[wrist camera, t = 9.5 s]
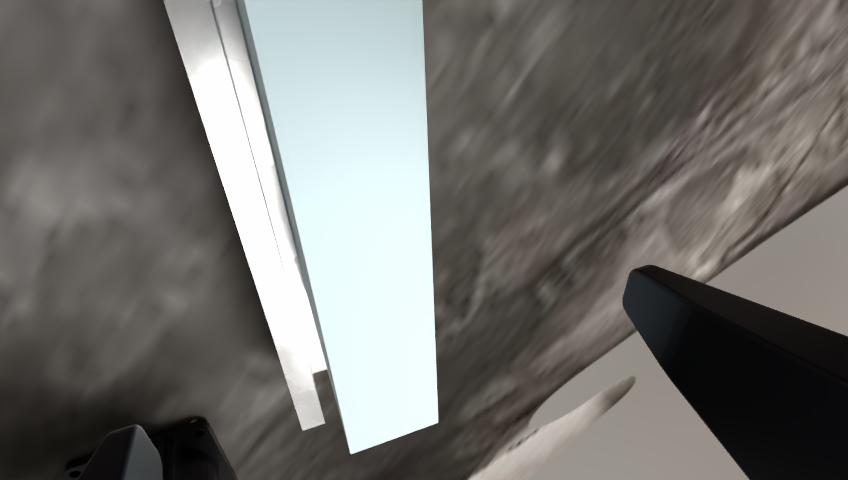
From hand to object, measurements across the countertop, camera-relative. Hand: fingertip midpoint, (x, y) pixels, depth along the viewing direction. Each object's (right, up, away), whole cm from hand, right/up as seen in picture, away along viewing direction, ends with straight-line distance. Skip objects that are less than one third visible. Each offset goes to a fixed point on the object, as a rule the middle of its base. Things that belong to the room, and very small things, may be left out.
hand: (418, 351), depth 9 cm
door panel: (-4, +6, +9) cm, 11 cm away
